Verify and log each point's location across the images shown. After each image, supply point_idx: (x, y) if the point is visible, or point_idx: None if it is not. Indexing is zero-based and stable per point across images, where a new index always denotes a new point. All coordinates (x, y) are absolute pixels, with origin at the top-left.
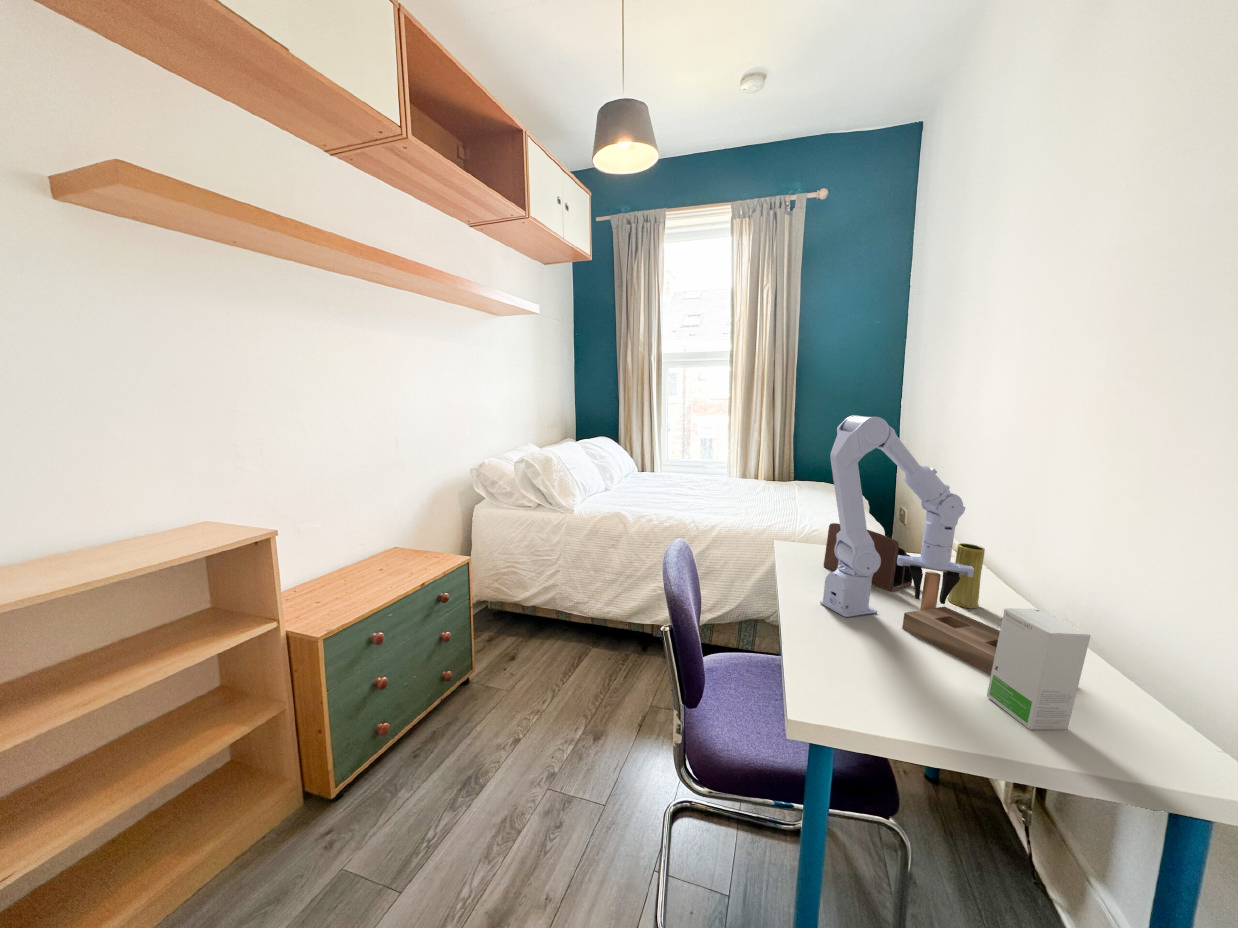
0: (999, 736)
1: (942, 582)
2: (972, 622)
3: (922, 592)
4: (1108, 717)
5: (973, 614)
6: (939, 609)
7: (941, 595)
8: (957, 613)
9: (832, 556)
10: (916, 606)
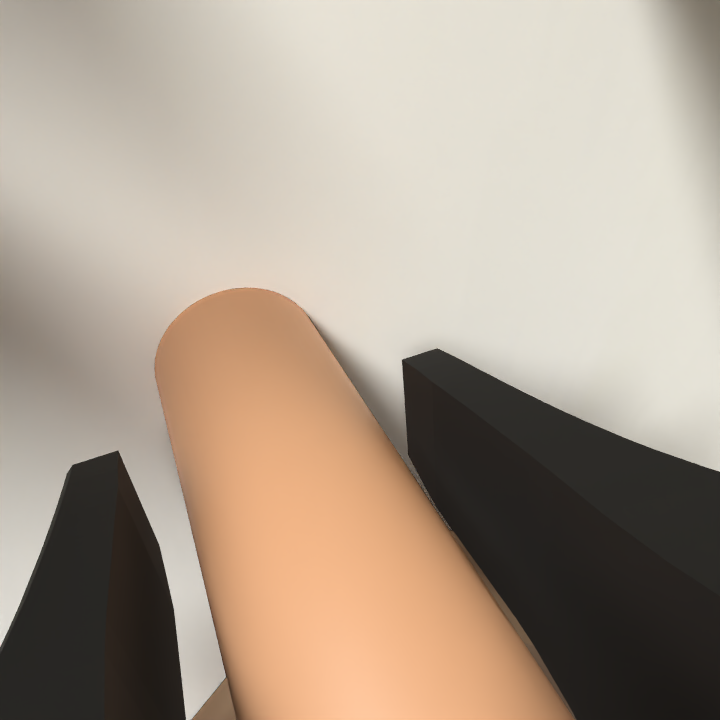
0: None
1: (602, 542)
2: (568, 705)
3: (197, 553)
4: None
5: (686, 69)
6: None
7: (459, 481)
8: None
9: None
10: (96, 322)
